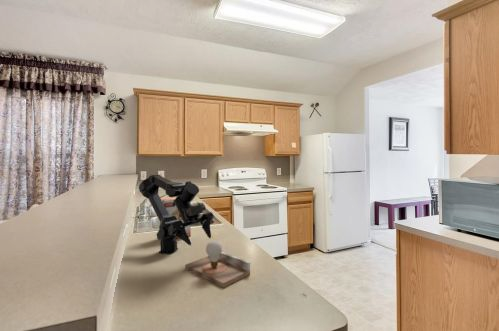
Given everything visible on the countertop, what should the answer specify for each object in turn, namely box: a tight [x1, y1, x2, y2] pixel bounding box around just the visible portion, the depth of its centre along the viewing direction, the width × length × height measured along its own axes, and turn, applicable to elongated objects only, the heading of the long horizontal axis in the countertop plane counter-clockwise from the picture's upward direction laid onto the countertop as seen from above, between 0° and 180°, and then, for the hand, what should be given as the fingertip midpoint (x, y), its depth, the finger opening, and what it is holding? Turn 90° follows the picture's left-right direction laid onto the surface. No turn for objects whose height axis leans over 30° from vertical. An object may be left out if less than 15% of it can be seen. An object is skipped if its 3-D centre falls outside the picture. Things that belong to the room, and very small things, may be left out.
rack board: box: [184, 251, 251, 288], centre depth 96 cm, size 22×13×4 cm, turn 48°
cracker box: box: [161, 197, 192, 239], centre depth 138 cm, size 14×6×21 cm, turn 117°
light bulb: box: [205, 240, 223, 268], centre depth 96 cm, size 6×6×10 cm
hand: (200, 241), depth 101 cm, fingers open, 9 cm apart
